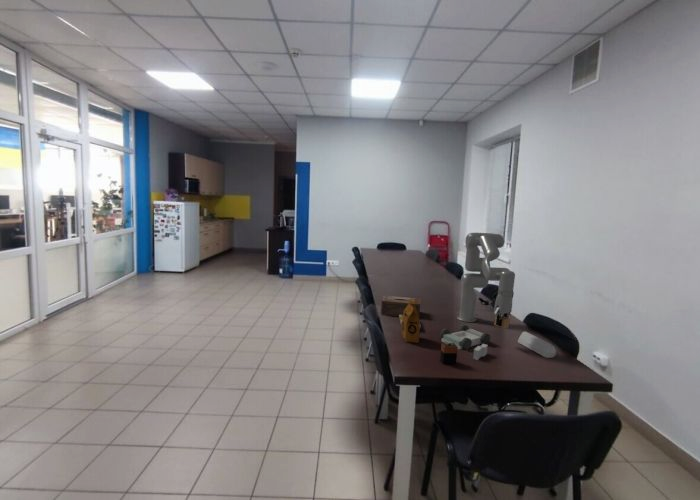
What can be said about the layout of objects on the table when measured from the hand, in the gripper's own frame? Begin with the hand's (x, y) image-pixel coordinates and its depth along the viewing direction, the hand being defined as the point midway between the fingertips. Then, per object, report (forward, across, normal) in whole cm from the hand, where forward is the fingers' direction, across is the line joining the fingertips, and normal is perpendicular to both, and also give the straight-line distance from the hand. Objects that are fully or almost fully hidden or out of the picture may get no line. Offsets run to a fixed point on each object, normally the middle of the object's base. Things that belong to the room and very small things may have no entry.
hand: (501, 324), depth 209 cm
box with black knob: (+1, 0, 0) cm, 1 cm away
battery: (+12, +44, +3) cm, 46 cm away
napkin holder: (+12, +23, +6) cm, 27 cm away
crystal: (+12, -13, +14) cm, 23 cm away
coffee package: (+12, +40, -29) cm, 51 cm away
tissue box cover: (+14, +13, -69) cm, 72 cm away
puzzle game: (+13, +25, -47) cm, 55 cm away
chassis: (+12, +14, -12) cm, 22 cm away
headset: (+14, -62, -47) cm, 79 cm away
